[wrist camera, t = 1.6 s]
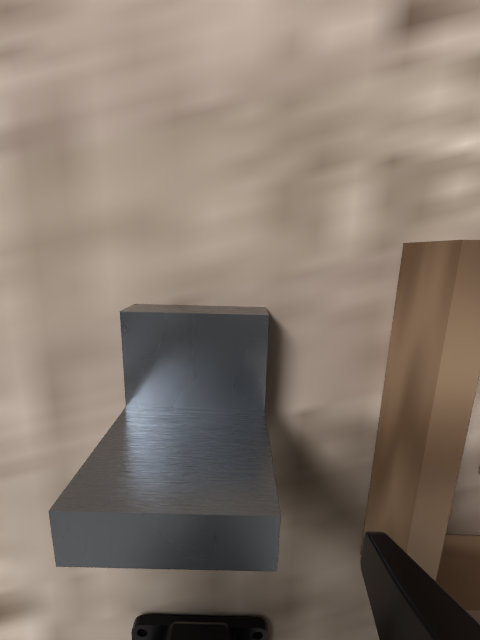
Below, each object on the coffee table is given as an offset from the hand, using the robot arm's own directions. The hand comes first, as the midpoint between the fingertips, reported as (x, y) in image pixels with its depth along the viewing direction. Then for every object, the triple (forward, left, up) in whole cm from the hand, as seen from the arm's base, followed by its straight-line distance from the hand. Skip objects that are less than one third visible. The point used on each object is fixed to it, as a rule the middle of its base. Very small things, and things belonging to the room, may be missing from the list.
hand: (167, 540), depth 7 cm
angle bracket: (+2, 0, -6) cm, 6 cm away
